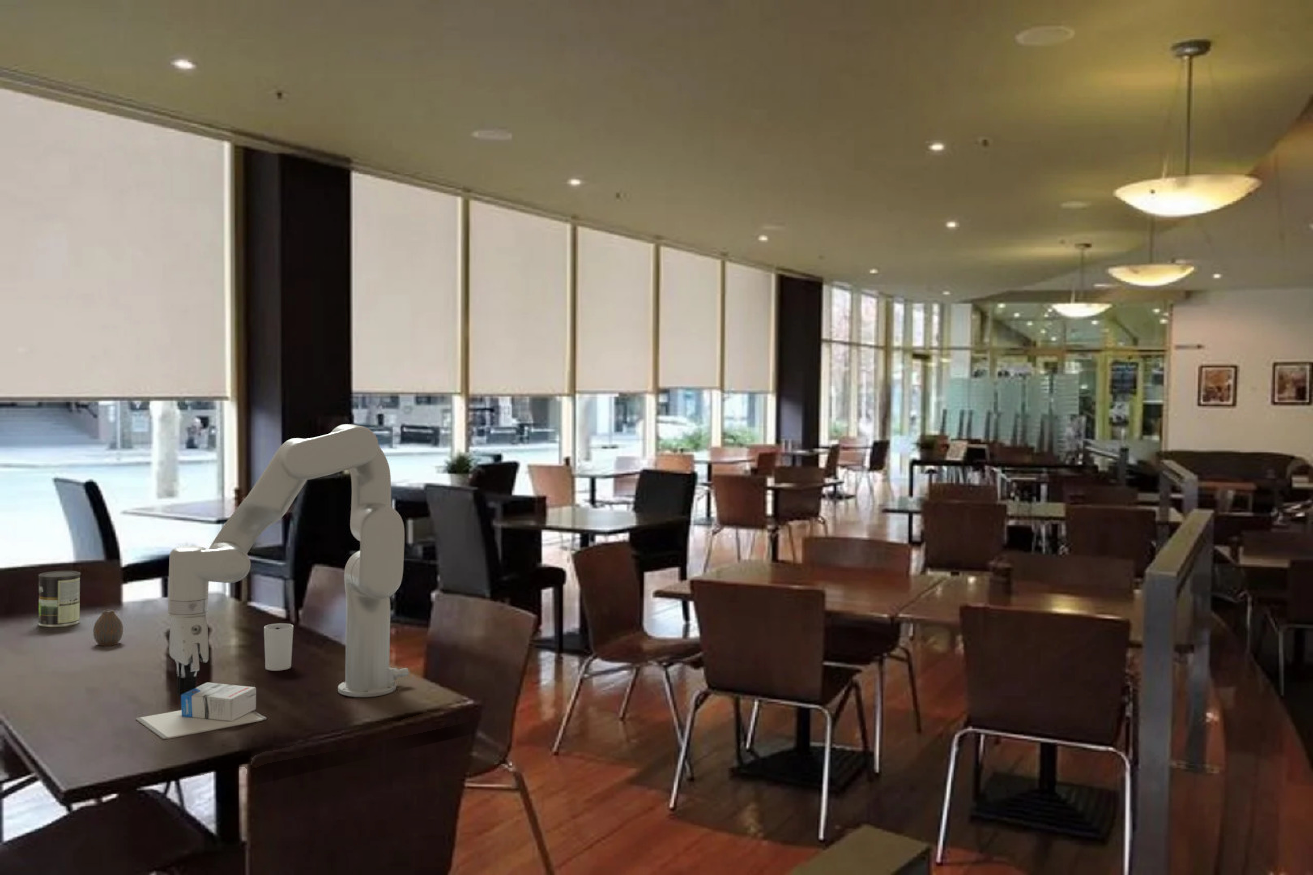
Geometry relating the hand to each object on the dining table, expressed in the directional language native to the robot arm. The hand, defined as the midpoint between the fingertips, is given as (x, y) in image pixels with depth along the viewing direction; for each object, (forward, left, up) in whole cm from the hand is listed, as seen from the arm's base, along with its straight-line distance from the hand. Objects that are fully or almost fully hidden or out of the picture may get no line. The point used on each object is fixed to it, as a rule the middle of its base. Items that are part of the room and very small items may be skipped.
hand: (186, 695), depth 218 cm
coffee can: (-3, -106, -4) cm, 106 cm away
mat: (-1, +7, -4) cm, 8 cm away
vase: (-6, -72, -4) cm, 72 cm away
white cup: (-30, -23, -4) cm, 37 cm away
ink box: (-1, +1, -1) cm, 2 cm away
